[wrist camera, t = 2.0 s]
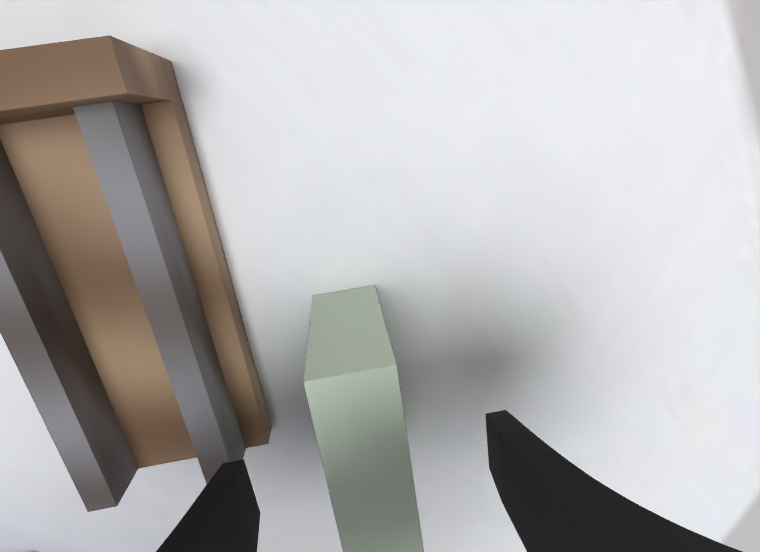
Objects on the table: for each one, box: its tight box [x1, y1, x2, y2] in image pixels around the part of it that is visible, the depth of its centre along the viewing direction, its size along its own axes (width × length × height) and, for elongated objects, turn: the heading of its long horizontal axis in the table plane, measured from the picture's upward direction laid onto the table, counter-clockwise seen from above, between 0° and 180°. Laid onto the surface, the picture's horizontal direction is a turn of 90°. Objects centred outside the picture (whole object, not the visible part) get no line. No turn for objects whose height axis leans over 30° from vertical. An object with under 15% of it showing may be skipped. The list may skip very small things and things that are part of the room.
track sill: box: [0, 36, 271, 512], centre depth 14 cm, size 14×7×4 cm, turn 8°
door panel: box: [303, 285, 424, 552], centre depth 15 cm, size 7×2×6 cm, turn 8°
